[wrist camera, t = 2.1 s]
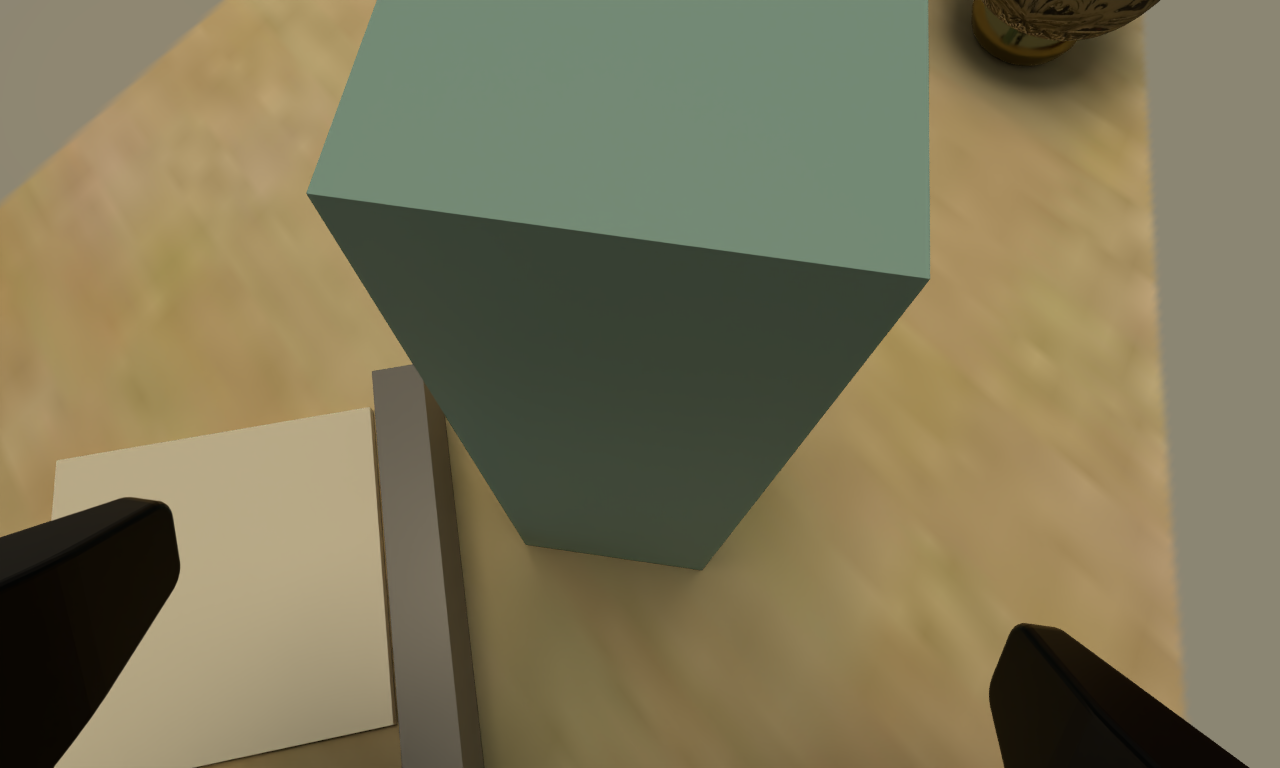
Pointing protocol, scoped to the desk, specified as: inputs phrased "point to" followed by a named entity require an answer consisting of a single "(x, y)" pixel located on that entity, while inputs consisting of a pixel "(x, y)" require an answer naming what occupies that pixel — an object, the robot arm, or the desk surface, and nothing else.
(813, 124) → the teal block
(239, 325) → the desk surface
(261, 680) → the corner arena
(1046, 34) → the cup
